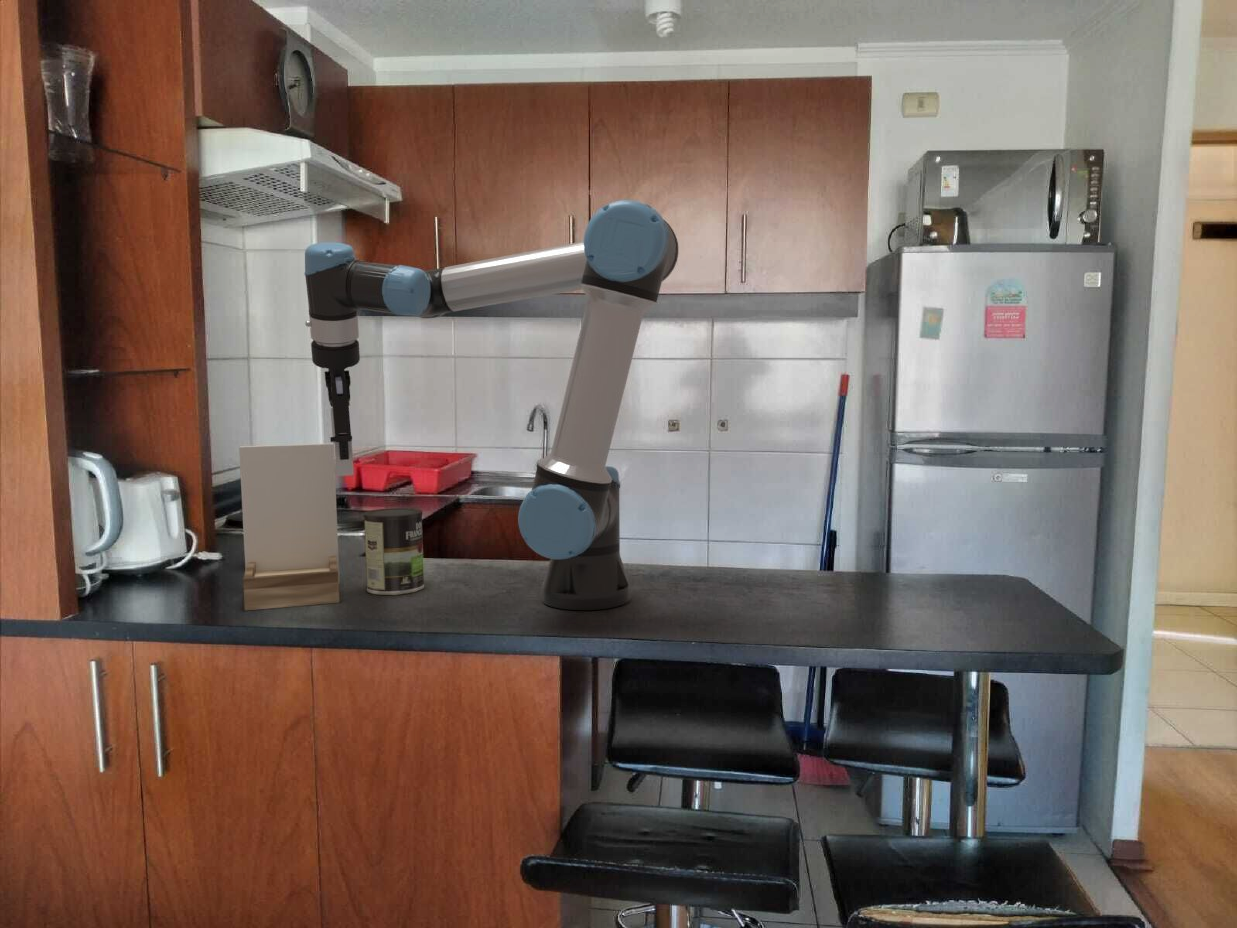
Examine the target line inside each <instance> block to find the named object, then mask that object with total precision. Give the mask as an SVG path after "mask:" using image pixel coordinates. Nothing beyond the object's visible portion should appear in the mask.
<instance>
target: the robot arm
mask: <svg viewBox="0 0 1237 928" xmlns="http://www.w3.org/2000/svg"><path fill="white" fill-rule="evenodd" d="M678 257H679V242H678V238H677V236H676V233H675V231H674V230H673V229H672V227H671V224H669V223H668V222H667V221H666V220H665V219H664V218H663V216H662V215H661V214H660V213H659V212H658V211H657V210H656V209H655V208H654V207H652V206H650V205H649V204H645V203H642V202H640V201H638V200H637V201H636V200H633V199H620V200H615V201H612V202H609V203H608V204H605V205H604V206H602V207H600V209H598V210H597V211H596V212H595V213H594V214H593V215H592V217H591V218H590V220H589V222H588V223H587V226H586V228H585V231H584V237H583V241H578V242H573V243H572V242H571V243H567V244H562V245H555V246H552V247H546V248H541V249H536V250H530V251H526V252H524V251H523V252H520V253H519V252H518V253H515V254H514V253H513V254H510V255H504V256H499V257H493V258H487V259H482V260H476V261H471V262H466V263H462V264H456V265H450V266H446V267H439V268H434V269H429V270H428V269H427V270H423V269H421V268H417V267H412V266H409V265H405V264H404V265H403V264H398V265H397V264H388V263H380V262H370V261H369V262H367V261H364V260H363V261H362V260H359V259H356V256H355V252H354V248H353V247H352V246H351V245H350V244H345V243H343V242H336V241H326V242H325V241H324V242H323V241H322V242H318V243H317V242H316V243H313V244H310V245H309V246H307V247H306V249H305V251H304V273H303V274H304V276H305V284H306V285H305V286H306V291H307V292H306V294H307V303H308V304H307V305H308V315H309V317H308V318H309V320H306V321H305V322H304V324H305V326H306V327H307V328H308V327H310V329H309V330H310V339H312V341H311V343H310V347H311V358H312V359H311V361H312V363H313V365H315V366H316V367H319V368H322V369H328V370H326V371H324V381H325V387H326V388H327V394H328V395H327V396H328V402H329V405H330V420H331V421H330V422H331V431H332V436H331V437H330V442H331V443H333V444H334V458H335V472H336V477H344V476H346V477H347V476H348V477H349V476H354V474H355V473H354V469H355V468H354V458H353V457H354V455H353V436H352V430H351V429H352V428H351V417H350V407H349V406H350V405H351V403H350V401H351V390H350V387H351V383H352V382H351V375H350V370H349V369H348V368H352V367H354V366H355V367H356V365H358V364H359V362H360V360H361V357H360V342H359V341H358V339H359V337H360V335H359V334H360V333H359V332H360V331H359V318H358V310H367V311H372V312H379V313H386V314H392V315H393V314H394V315H397V316H404V317H407V316H409V317H418V318H420V319H435V318H440V317H442V316H444V315H445V314H448V313H454V312H458V311H462V310H463V311H464V310H465V311H466V310H470V309H475V308H480V307H486V306H487V307H488V306H493V305H499V304H505V303H511V302H517V301H523V300H527V299H533V298H534V299H535V298H540V297H547V296H551V295H557V294H558V295H559V294H563V293H569V292H575V291H580V290H582V291H583V293H584V294H585V296H586V299H587V301H586V305H585V309H584V314H583V318H582V322H581V325H580V331H579V334H578V339H577V343H576V347H575V351H574V355H573V360H572V363H571V367H570V372H569V375H568V379H567V384H566V389H565V392H564V398H563V401H562V404H561V405H562V406H561V410H560V414H559V417H558V421H557V426H556V430H555V435H554V439H553V444H552V447H551V450H550V453H549V454H548V455H547V456H545V457H543V458H542V459H541V458H540V460H539V461H538V463H537V468H536V470H535V471H536V472H535V476H534V479H533V484H532V488H531V491H529V492H528V493H527V494H526V495H525V498H523V500H522V503H521V504H520V505H519V510H518V516H517V523H518V527H519V532H520V534H521V536H522V537H521V538H523V540H524V542H525V543H526V545H527V546H528V547H529V548H530V549H531V550H532V551H533V552H535V553H536V554H537V555H540V556H541V557H544V558H547V559H550V560H549V563H548V566H547V569H546V572H545V576H544V579H543V583H542V586H541V602H542V603H543V604H544V605H547V606H548V607H550V608H551V607H553V608H556V609H560V610H570V611H572V610H573V611H594V610H605V609H607V610H608V609H611V608H616V607H620V606H623V605H625V604H627V603H629V602H630V600H631V584H630V582H629V579H628V576H627V572H626V570H625V566H624V563H623V560H622V558H621V552H620V550H621V548H620V547H621V544H620V543H621V539H620V537H621V536H620V533H621V532H620V529H621V528H620V527H621V526H620V488H621V482H620V477H619V476H620V474H619V471H618V469H617V468H616V467H614V466H607V465H606V464H607V462H608V457H609V454H610V453H609V451H610V449H611V445H612V440H613V437H614V436H613V435H614V433H615V429H616V424H617V420H618V416H619V412H620V408H621V404H622V401H623V398H624V393H625V388H626V386H627V385H626V384H627V380H628V377H629V373H630V369H631V364H632V361H633V356H634V353H635V348H636V344H637V341H638V335H639V332H640V328H641V324H642V321H643V317H644V314H645V313H646V312H647V311H648V310H650V309H652V308H654V307H655V306H656V305H657V303H658V298H659V294H660V291H661V287H662V283H663V282H664V281H665V280H666V279H667V278H668V277H669V276H670V275H671V273H672V272H673V270H674V269H675V267H676V265H677V262H678ZM346 369H347V370H346Z"/></svg>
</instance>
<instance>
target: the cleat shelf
mask: <svg viewBox="0 0 1237 928" xmlns="http://www.w3.org/2000/svg"><path fill="white" fill-rule="evenodd" d="M242 580H243V581H242V583H243V586H242V587H243V603H244V611H255V610H267V609H278V608H290V607H302V606H303V607H304V606H313V605H325V604H336V603H337V604H338V603H340V587H339V586H340V584H339V582H340V580H339V581H338V568H337V562H336V556H333V557H329V566H328V567H314V568H301V569H287V570H273V571H259V572H256V566H255V562H248V564H247V568H246V571H244V574H243V578H242Z"/></svg>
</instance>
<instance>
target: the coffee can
mask: <svg viewBox="0 0 1237 928" xmlns="http://www.w3.org/2000/svg"><path fill="white" fill-rule="evenodd" d="M362 515H363V516H362V517H363V518H364V519H363V520H364V521H363V523H364V542H365V543H364V544H365V546H364V547H365V567H366V568H365V569H366V570H365V571H366V572H365V573H366V591H367V593H370V594H373V595H380V596H381V595H382V596H397V595H406V594H413V593H416V592H417V593H418V592H419V591H422V590H423V589H425V581H424V580H425V579H424V578H425V577H424V575H425V574H424V573H425V572H424V548H423V547H424V544H423V542H424V541H423V537H424V536H423V510H421V509H419V508H414V507H413V508H411V507H387V508H377V509H373V510H368V511H364V512H363V514H362Z"/></svg>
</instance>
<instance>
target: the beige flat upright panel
mask: <svg viewBox="0 0 1237 928" xmlns="http://www.w3.org/2000/svg"><path fill="white" fill-rule="evenodd" d="M238 453H239V454H238V455H239V468H240V469H239V471H240V487H241V510H242V528H243V530H242V531H243V549H244V566H245V567H244V569H245V571H246V568H247V564H248V562H255V566H256V572H259V571H273V570H287V569H301V568H314V567H328V566H329V557H333V556H336V562H337V568H338V581H339V585H340V567H339V566H340V563H339V562H340V561H339V560H340V559H339V538H338V536H339V535H338V513H337V490H336V489H337V488H336V487H337V486H336V459H335V443H334V444H333V442H331V443H329V442H328V443H301V444H300V443H299V444H270V445H269V444H268V445H241V446H238ZM245 571H244V572H245Z"/></svg>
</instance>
